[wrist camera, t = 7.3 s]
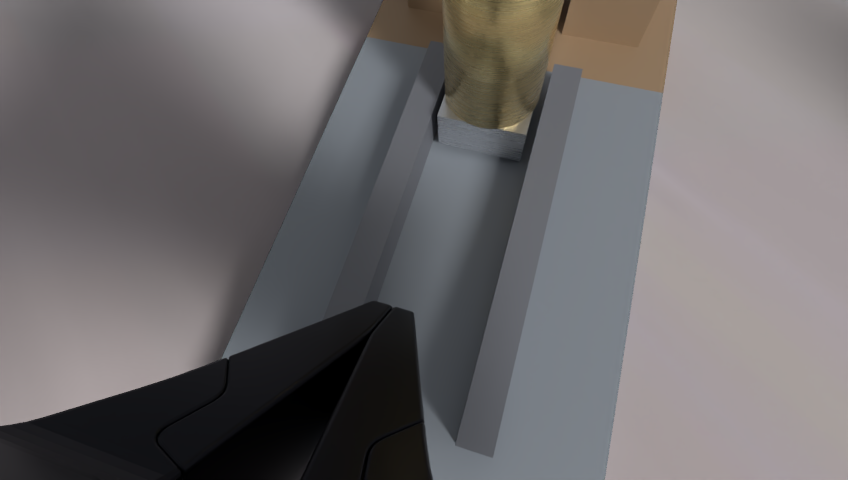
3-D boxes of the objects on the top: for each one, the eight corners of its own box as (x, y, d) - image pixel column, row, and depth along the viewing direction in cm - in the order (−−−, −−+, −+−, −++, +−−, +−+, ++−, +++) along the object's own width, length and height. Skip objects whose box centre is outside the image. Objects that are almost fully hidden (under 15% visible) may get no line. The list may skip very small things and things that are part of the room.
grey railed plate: (576, 560, 13) (635, 627, 9) (213, 428, 15) (115, 429, 11) (662, 27, 21) (719, -83, 16) (406, -16, 23) (394, -125, 18)
